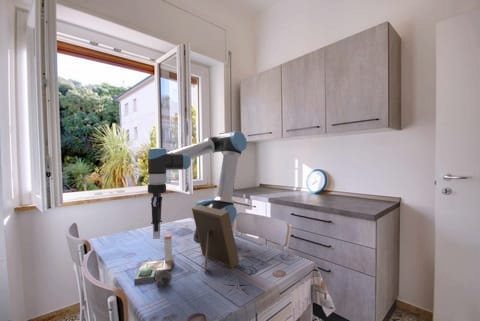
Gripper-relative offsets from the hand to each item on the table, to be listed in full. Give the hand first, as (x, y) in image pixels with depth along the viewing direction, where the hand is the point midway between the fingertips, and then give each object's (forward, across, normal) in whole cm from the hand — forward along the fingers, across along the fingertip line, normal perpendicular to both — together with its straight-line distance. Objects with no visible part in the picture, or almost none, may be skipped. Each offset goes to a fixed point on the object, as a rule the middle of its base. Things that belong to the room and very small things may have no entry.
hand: (156, 238), depth 97 cm
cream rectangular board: (+14, -3, -1) cm, 14 cm away
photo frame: (+13, -1, +23) cm, 27 cm away
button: (+14, +6, -3) cm, 15 cm away
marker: (+13, -6, +4) cm, 15 cm away
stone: (+14, +11, +4) cm, 18 cm away
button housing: (+14, +6, -3) cm, 15 cm away
